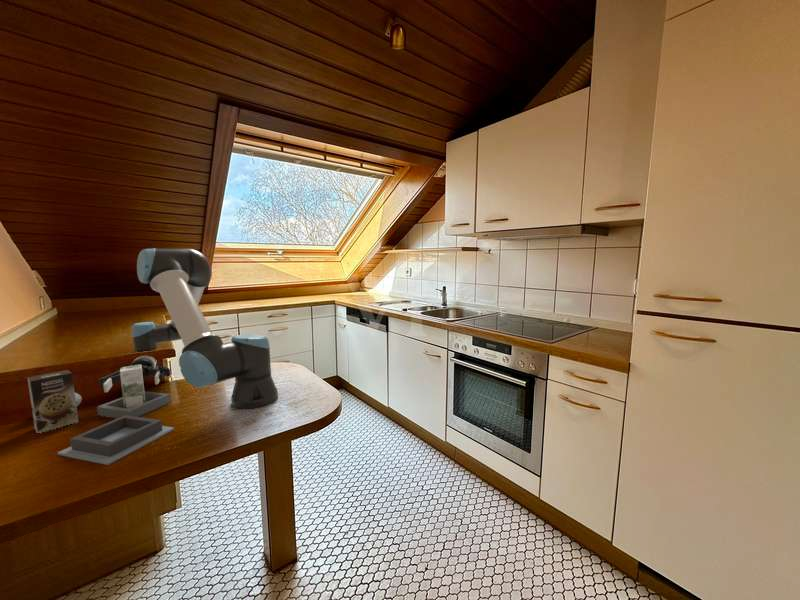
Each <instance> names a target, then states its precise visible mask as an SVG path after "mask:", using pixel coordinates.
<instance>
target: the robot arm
mask: <svg viewBox="0 0 800 600" xmlns="http://www.w3.org/2000/svg"><path fill="white" fill-rule="evenodd" d="M136 274H137V278H138V280H139V282H140V283H142V284H145V285H146V284H148V283H149V285H150V288H151V290H153V291H155V292H157V293H159V294H160V296H161V299H162V301H163V303H164V305H165V307H166V309H167V312H168V313H169V316H170V318H171V320H170V323H165V324H158V325H155V323H154V322H152V321H144V322H138V323H137V322H136V323H134V324H132V326H131V338H132V344H133V352H134V351H137V352H143V351H151V350H155V349H157V350H158V347H157V346H158V345H159V344H163V343H169V342H172V341H178V340H182V341H181V342H182V344H183V348H182V350H181V354H180V356H179V359H178V365H179V368H180V372H181V375H182V377H183V378H184V380H185V381H186V382H187V384H188V385H190V386H192V387H195V388H203V387H207V386H213V385H215V384H218V383H221V382H224V381H227V380H231V379H234V380H235V381H234V385H233V389H232V394H231V398H230V400H231V403H230V404H231V406H232V407H234V408H236V409H240V410H241V409H242V410H243V409H244V410H246V409H256V408H260V407H264V406H267V405H270V404H272V403H273V402H275V401H277V399H278V398H277V397H279V394H278V393H279V392H278V388H277V387H276V385H275V382H274V379H273V377H272V366H271V354H270V353H271V352H270V350H271V347H270V343H269V342H270V341H269V338H268V337H267V336H265V335H259V334H237V335H234V336H231V341H230V342H227V343H224V341H223V340H222V338H221V336H220V335H218V334H213V332H212V330H211V328H210V325H209V324H208V322H207V320H206V318H205V316H204V314H203V312H202V309H201V308H200V306H199V303H200V302H201V298H202V296H203V293H204V290H205V288H206V287H207V286H209V284H210V282H211V279H212V275H213V270H212V266H211V264H210V262H209V259H208V258H207V257H206V256H205V255H204V254H203V253H201V252H200V251H199V250H196V249H193V248H156V247H153V248H142V250H141V251H140V252H139V254H138V256H137V260H136ZM140 364H141V365H142V373H143V380H144V379H147V378H150V377H154V384H155V385H159V383H160V380H163V379H164V378H165V377H171V376H172V374H171V369H170V368H168V367H166V366H164V365H163V364H157V360H156V359H155V358H154V357H152V356H149V355H141V356H139V357H137V358H136V359H135V358H134V360H133V361H132V363H131V364H130V365H129V366H134V365H140ZM156 364H157V365H156ZM119 382H120V383H121V377H120V369H117V370H116V371H115V372H113V373H110V374H108V375H106V376H103V377H101V378H98V384H99V387H102V388H103V391H104V393H108V392H109V391H110V390H111V388H112V387H113V385H115V384H118V383H119ZM276 398H277V399H276ZM274 400H275V401H274ZM271 402H272V403H271Z"/></svg>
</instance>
